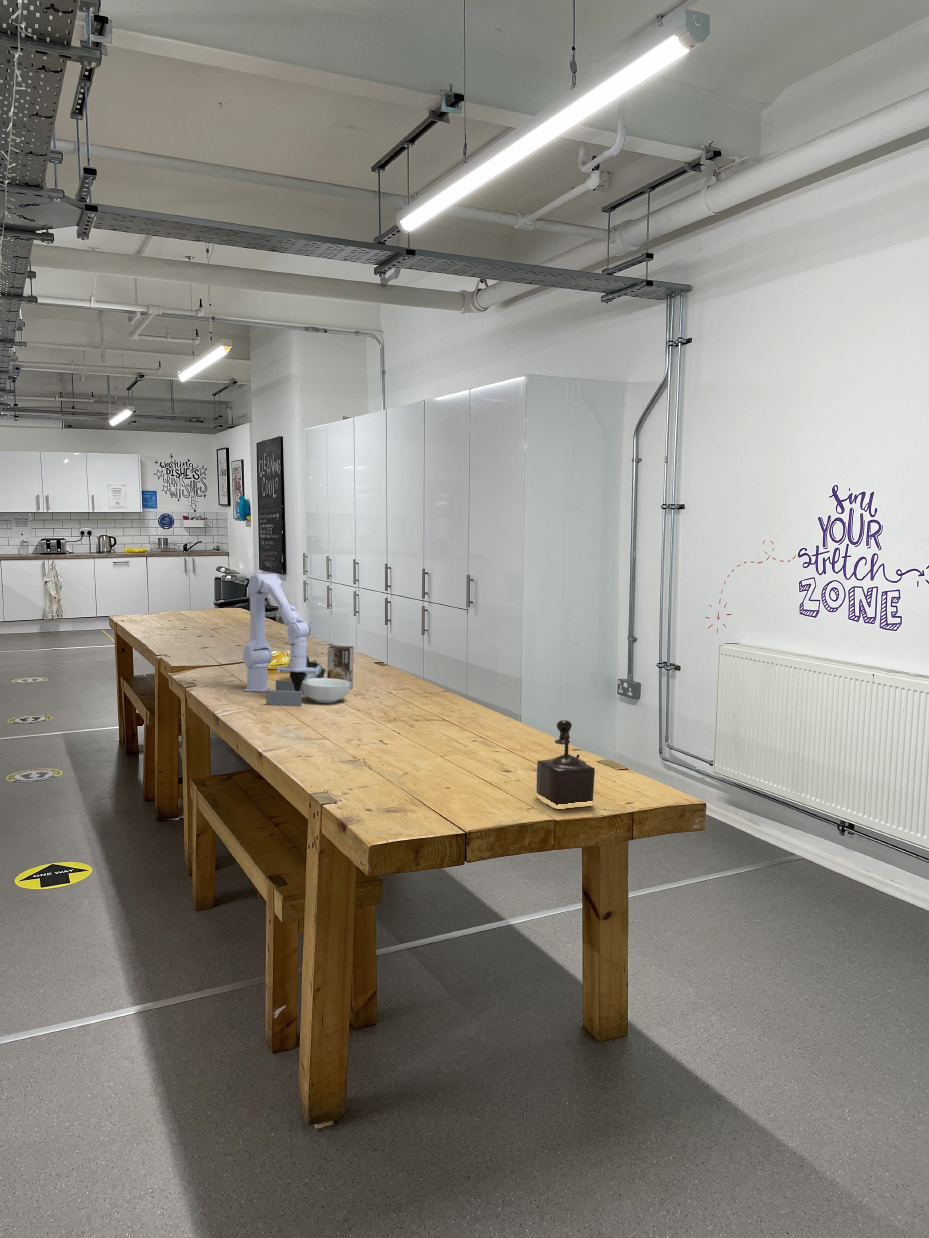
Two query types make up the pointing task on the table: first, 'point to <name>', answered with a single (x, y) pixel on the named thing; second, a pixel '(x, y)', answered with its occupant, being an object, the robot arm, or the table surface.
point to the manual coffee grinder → (565, 774)
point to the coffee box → (340, 663)
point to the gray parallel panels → (284, 694)
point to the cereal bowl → (325, 689)
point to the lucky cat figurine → (312, 665)
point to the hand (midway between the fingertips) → (297, 693)
